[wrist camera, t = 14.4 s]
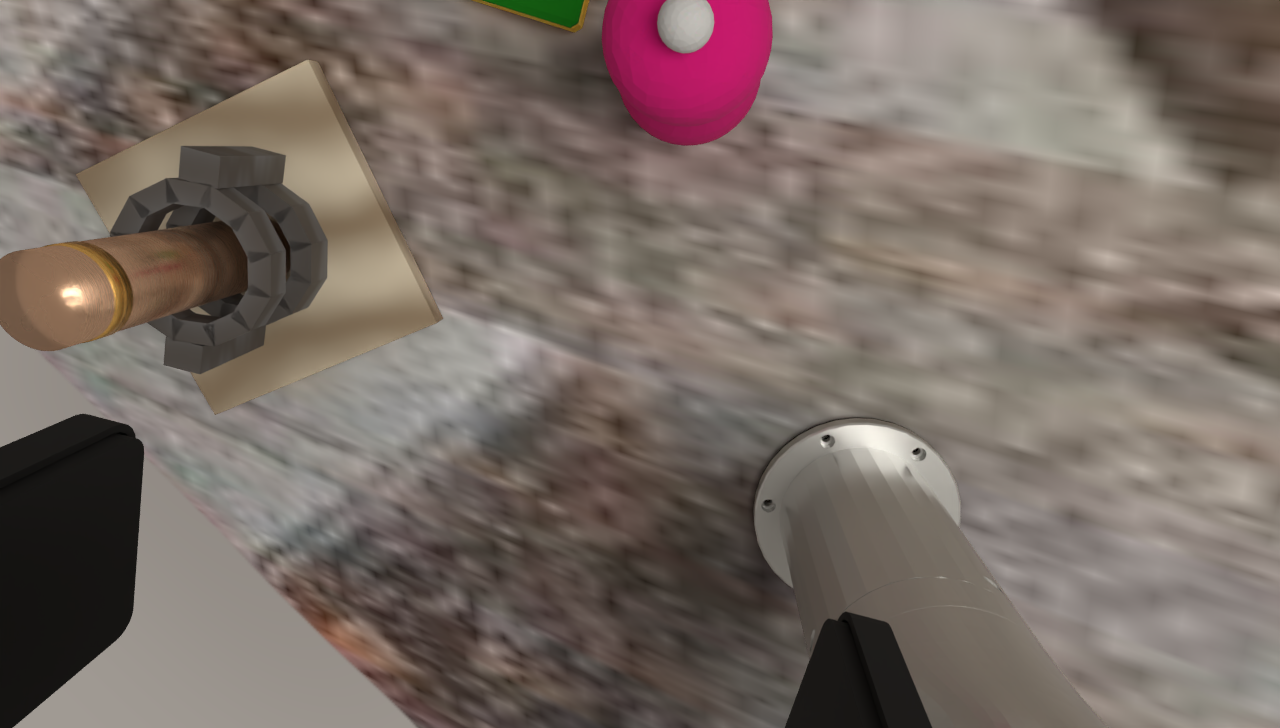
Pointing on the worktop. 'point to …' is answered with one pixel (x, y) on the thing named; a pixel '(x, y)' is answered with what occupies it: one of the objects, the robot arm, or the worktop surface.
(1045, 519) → the worktop surface
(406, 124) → the worktop surface
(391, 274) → the collar stand
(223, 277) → the tan cylinder
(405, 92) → the worktop surface
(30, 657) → the robot arm
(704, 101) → the pepper mill
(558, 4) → the dish sponge
